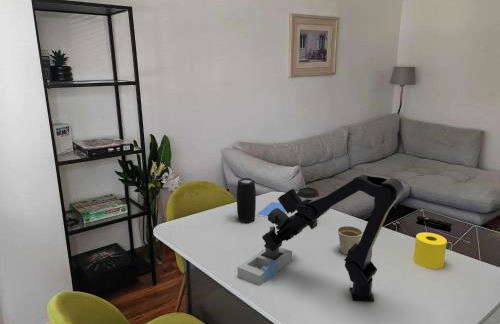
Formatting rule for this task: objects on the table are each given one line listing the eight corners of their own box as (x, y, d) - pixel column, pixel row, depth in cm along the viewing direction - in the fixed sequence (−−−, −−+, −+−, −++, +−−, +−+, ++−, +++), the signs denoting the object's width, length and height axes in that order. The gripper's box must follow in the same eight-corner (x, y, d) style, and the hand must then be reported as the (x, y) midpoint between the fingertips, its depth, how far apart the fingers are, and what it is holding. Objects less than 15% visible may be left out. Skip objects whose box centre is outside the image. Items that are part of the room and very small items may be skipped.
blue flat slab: (279, 221, 176) (279, 218, 176) (255, 216, 182) (255, 213, 181) (294, 207, 193) (294, 205, 193) (271, 203, 198) (271, 201, 198)
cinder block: (292, 259, 140) (293, 248, 139) (260, 285, 124) (260, 273, 123) (271, 252, 146) (271, 241, 145) (237, 276, 129) (237, 264, 128)
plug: (278, 266, 135) (279, 230, 132) (264, 266, 136) (265, 230, 132) (278, 260, 140) (279, 225, 137) (265, 259, 141) (266, 224, 137)
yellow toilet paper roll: (437, 255, 143) (440, 232, 141) (448, 269, 133) (451, 245, 131) (409, 254, 144) (412, 232, 142) (418, 268, 134) (421, 244, 132)
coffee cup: (292, 219, 177) (293, 188, 174) (309, 215, 181) (311, 185, 178) (303, 226, 169) (304, 195, 165) (321, 223, 173) (323, 192, 169)
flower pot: (362, 258, 141) (363, 237, 139) (336, 256, 143) (337, 235, 141) (360, 247, 150) (361, 227, 148) (335, 244, 152) (337, 225, 150)
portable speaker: (236, 224, 172) (236, 183, 167) (237, 216, 181) (237, 177, 176) (255, 224, 171) (255, 183, 167) (255, 216, 181) (255, 177, 176)
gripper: (296, 196, 137) (270, 217, 146) (267, 212, 123) (240, 234, 132) (314, 221, 135) (287, 241, 144) (287, 240, 120) (259, 261, 129)
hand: (269, 244), depth 137 cm, fingers closed on plug, 5 cm apart
